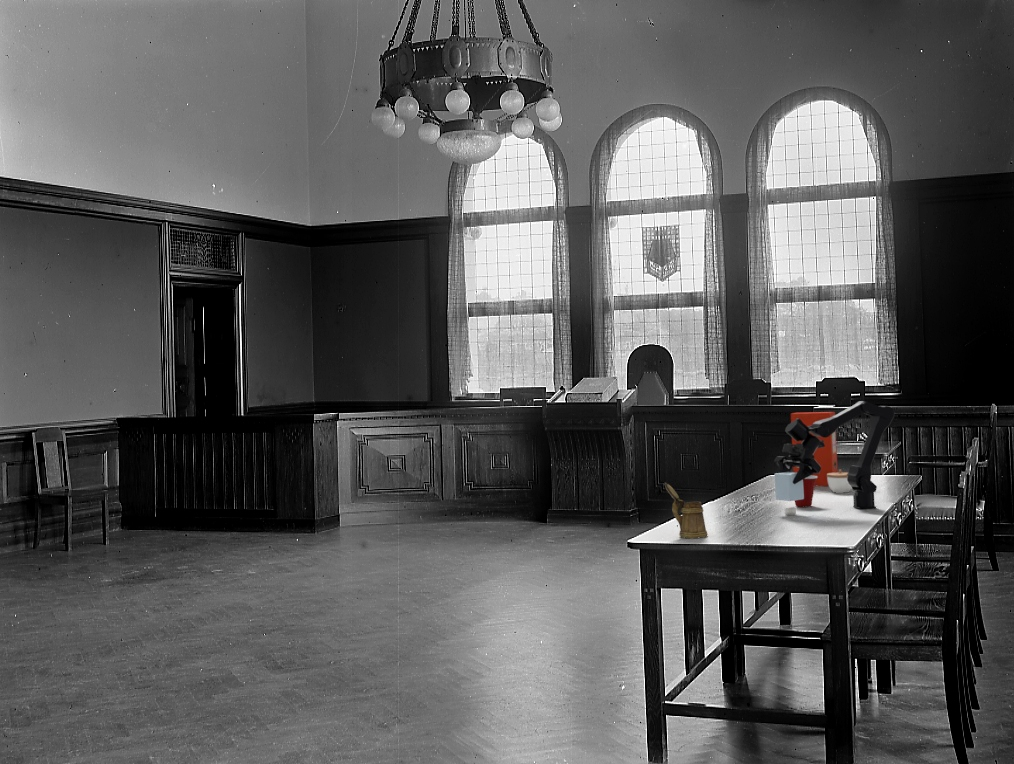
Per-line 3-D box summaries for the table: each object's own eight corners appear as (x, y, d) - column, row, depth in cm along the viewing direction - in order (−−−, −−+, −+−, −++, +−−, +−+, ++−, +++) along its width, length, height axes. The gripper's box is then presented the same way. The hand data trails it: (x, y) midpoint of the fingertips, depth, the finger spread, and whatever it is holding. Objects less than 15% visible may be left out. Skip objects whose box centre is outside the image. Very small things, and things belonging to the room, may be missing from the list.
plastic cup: (820, 507, 411) (818, 476, 411) (790, 508, 413) (789, 476, 413) (817, 504, 421) (816, 473, 421) (788, 504, 424) (787, 473, 423)
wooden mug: (669, 534, 368) (667, 480, 368) (709, 534, 363) (707, 480, 363) (663, 538, 360) (661, 484, 359) (704, 538, 355) (702, 483, 354)
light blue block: (789, 497, 400) (788, 471, 400) (803, 499, 394) (802, 472, 394) (775, 499, 396) (774, 473, 396) (789, 501, 390) (788, 474, 390)
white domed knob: (793, 514, 397) (793, 507, 397) (797, 516, 393) (797, 508, 393) (783, 515, 397) (782, 507, 397) (786, 516, 393) (786, 509, 393)
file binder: (799, 483, 489) (796, 412, 488) (838, 484, 479) (835, 411, 479) (793, 485, 482) (790, 413, 481) (832, 486, 472) (829, 412, 472)
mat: (813, 516, 391) (813, 515, 391) (839, 519, 380) (839, 518, 380) (789, 520, 385) (789, 518, 385) (814, 523, 374) (814, 522, 374)
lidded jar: (826, 493, 450) (825, 471, 450) (829, 490, 460) (828, 468, 459) (853, 493, 446) (852, 471, 445) (855, 490, 456) (854, 468, 455)
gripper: (776, 434, 405) (755, 467, 399) (813, 436, 389) (792, 469, 383) (792, 453, 409) (772, 486, 403) (830, 456, 393) (809, 489, 387)
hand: (786, 482), depth 394 cm, fingers closed on light blue block, 7 cm apart
